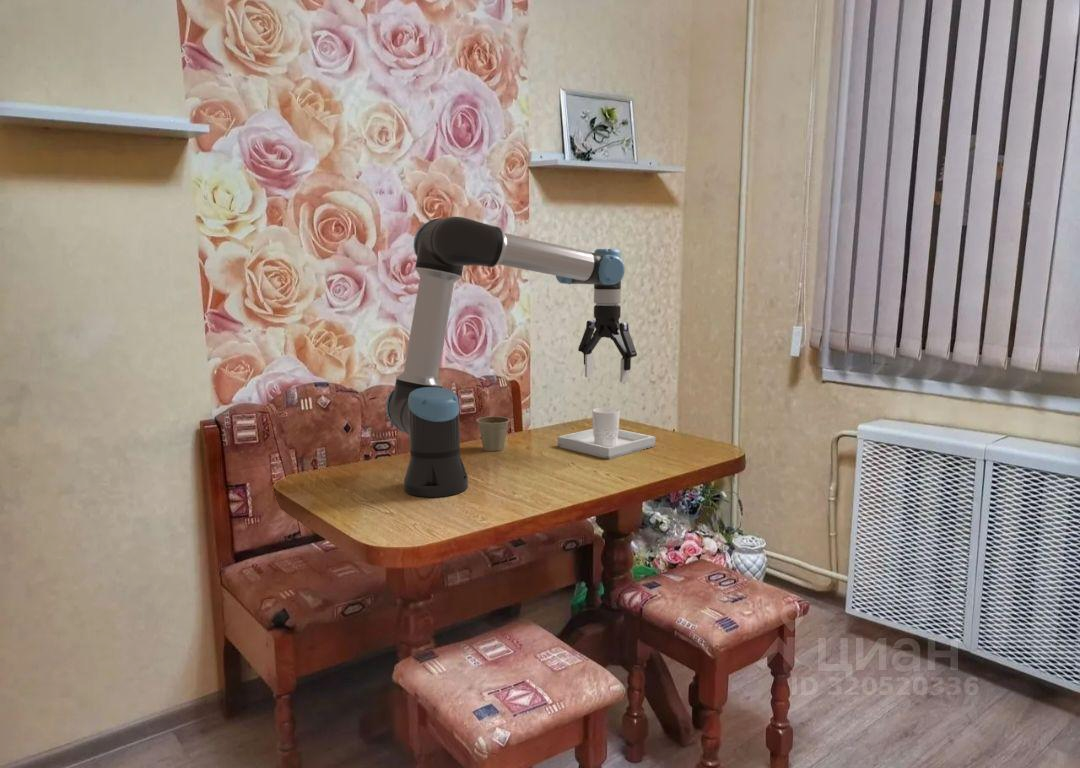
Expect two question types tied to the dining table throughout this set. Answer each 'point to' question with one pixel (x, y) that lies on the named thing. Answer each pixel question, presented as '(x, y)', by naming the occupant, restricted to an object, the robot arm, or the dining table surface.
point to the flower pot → (493, 432)
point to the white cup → (606, 426)
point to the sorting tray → (585, 444)
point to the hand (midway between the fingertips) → (606, 379)
